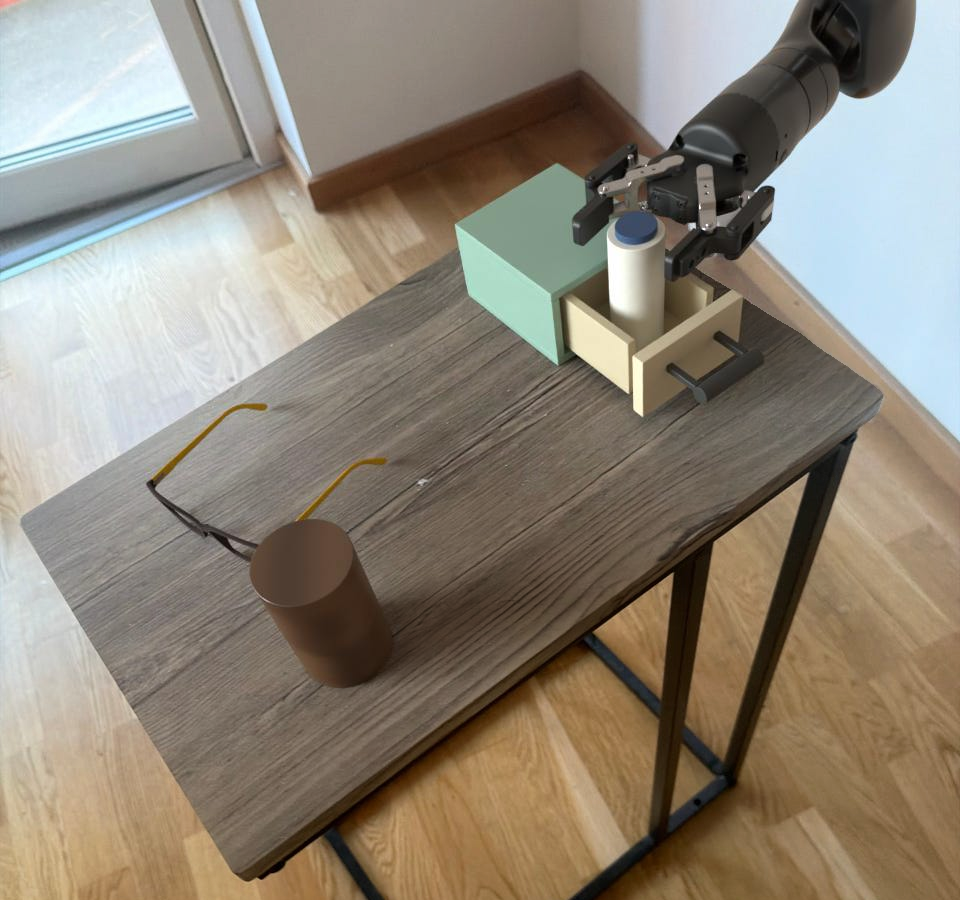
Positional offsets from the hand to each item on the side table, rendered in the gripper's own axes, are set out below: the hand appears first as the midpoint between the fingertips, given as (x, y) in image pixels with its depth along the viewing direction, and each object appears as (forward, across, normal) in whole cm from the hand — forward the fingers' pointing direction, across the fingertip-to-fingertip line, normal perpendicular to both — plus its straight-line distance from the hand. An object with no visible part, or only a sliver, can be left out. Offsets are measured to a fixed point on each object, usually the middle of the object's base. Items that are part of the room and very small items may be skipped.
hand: (621, 252), depth 71 cm
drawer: (-1, +3, +11) cm, 11 cm away
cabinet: (-4, -10, +11) cm, 16 cm away
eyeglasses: (+27, -17, +12) cm, 34 cm away
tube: (-2, 0, +10) cm, 10 cm away
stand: (+34, 0, +12) cm, 36 cm away
